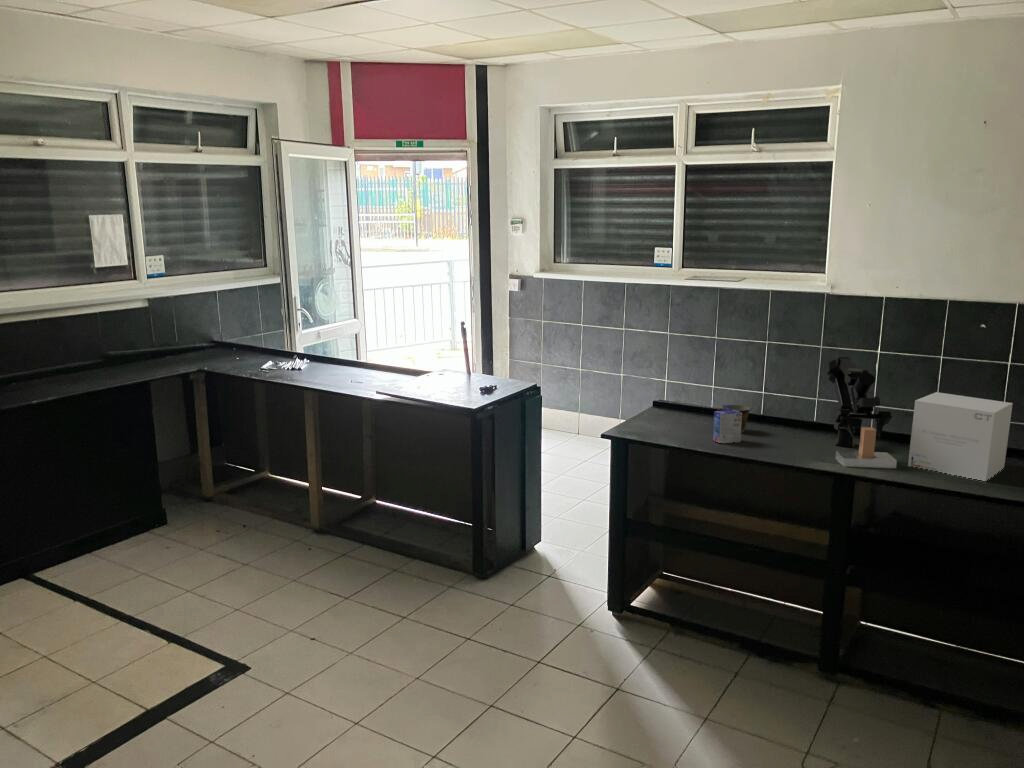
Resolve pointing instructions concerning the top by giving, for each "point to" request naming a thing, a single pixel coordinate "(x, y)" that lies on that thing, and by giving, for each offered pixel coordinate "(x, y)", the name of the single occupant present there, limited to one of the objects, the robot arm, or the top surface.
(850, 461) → the grey flat block
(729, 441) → the ink cartridge box
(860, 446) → the square peg
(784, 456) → the top surface
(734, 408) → the ceramic cup
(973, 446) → the white cardboard box
